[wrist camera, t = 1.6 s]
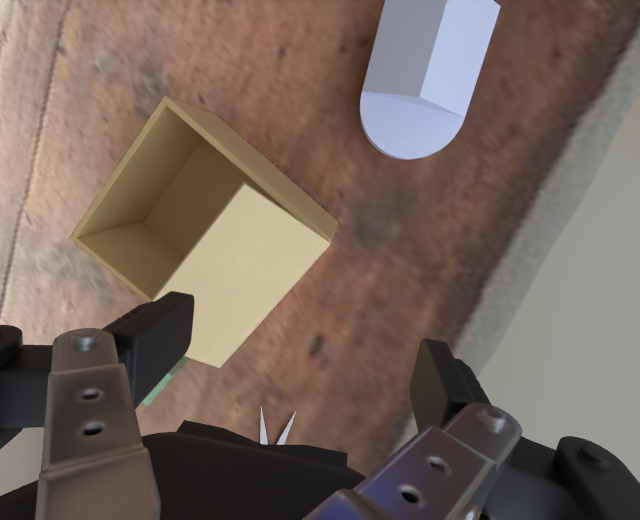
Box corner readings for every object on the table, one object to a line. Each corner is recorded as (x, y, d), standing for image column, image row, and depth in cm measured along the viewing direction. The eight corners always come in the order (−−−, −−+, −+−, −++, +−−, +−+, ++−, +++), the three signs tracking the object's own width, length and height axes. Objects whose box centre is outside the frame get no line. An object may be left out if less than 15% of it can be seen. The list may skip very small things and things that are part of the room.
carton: (338, 222, 39) (332, 240, 29) (254, 316, 42) (222, 363, 32) (216, 114, 38) (164, 94, 28) (139, 221, 41) (68, 238, 31)
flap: (329, 241, 28) (331, 243, 28) (219, 364, 32) (219, 368, 31) (243, 181, 24) (244, 183, 24) (125, 332, 27) (125, 335, 27)
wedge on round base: (387, -2, 34) (349, 146, 37) (393, -43, 28) (347, 142, 31) (486, 22, 34) (440, 169, 37) (517, -14, 27) (457, 169, 30)
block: (135, 355, 45) (108, 377, 40) (158, 326, 44) (134, 345, 39) (169, 382, 45) (146, 407, 41) (193, 353, 44) (172, 376, 39)
